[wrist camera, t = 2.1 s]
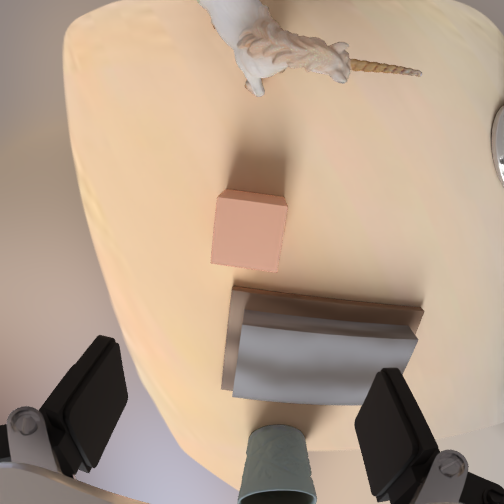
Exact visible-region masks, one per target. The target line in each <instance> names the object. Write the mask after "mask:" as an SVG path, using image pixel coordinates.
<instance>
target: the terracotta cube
mask: <svg viewBox="0 0 504 504" xmlns="http://www.w3.org/2000/svg"><path fill="white" fill-rule="evenodd" d="M287 210H288V205H287V203H286V201H285V198H284V197H281V196H274V195H267V194H260V193H253V192H245V191H238V190H230V189H226V190H224V191H223V192H222V193H221V194H220V195H219V196H218V197H217V203H216V212H215V222H214V232H213V242H212V253H211V264H218V265H225V266H232V267H239V268H246V269H254V270H261V271H268V272H276V273H277V270H278V264H279V258H280V253H281V247H282V241H283V235H284V228H285V222H286V216H287Z"/></svg>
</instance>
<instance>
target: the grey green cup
mask: <svg viewBox="0 0 504 504" xmlns="http://www.w3.org/2000/svg"><path fill="white" fill-rule="evenodd" d="M246 454H247V458H246V462H245V467H244V472H243V476H242V484H241V488H240V492H239V496H238V504H316V502H317V496H316V492H315V488H314V485H313V480H312V478H311V477H310V476H311V468H310V464H309V459H308V452H307V447H306V442H305V437H304V435H303V434H302V432H301V431H300V430H298V429H296V428H294V427H291V426H287V425H269V426H265V427H262V428H259V429H257V430H255V431H254V432H253V433H252V434H251V435H250V437H249V440H248V446H247V451H246Z"/></svg>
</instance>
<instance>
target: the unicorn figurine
mask: <svg viewBox="0 0 504 504" xmlns="http://www.w3.org/2000/svg"><path fill="white" fill-rule="evenodd" d="M197 1H198V3H199V4H200V5H201V6H202V7H203V8H204V9H206V11H207V12H208V14H209V15H210V16H211V18H212V19H211V22H212V25H213V27H214V29H216V30H217V32H218V34H219V35H220V37H221V38H222V39H223V40H224V41H225V42H226V43H227V45H228V46H230V47H231V48H232V49H233V50H234V54H235V59H236V63H237V65H238V67H239V68H240V69H241V70H242V71H243V73H244V75H245V77H246V78H247V81H246V84H245V87H246V88H247V89H248V90H249V91H250V92H251V93H252V94H253V95H256V96H257V97H261V96H263V95H264V93H265V90H264V87H263V85H262V81H261V78H267V77H271V76H273V75H274V74H276V73H282V72H284V71H285V69H286V68H287V67H290V68H301V67H304V68H305V70H306V72H310V71H312V72H316V73H321V74H326V75H329V76H330V77H331V78H332V79H333V80H334V81H336V82H338V83H346V82H347V79H348V78H349V75H350V70H353V71H364V72H371V71H372V72H383V73H393V74H398V73H399V74H403V75H411V76H413V75H415V76H418V77H420V76H422V72H421V71H419V70H413V69H411V68H405V67H402V66H399V67H398V66H396V65H388V64H385V63H384V64H380V63H377V62H369V61H360V60H357V59H350V58H349V53H348V52H346V51H345V49H346V48H347V47H349V44H347V43H345V42H337V43H335V44H332V45H330V46H327V44H326V43H325V41H323V40H322V39H320V38H316V37H310V38H309V37H306V36H298V34H294V33H290V32H289V31H285V30H283V29H282V28H281V27H280V26H279V24H278V23H277V22H276V21H275V20H274V19H273V18H272V17H271V15H270V13H269V8H268V7H267V6H265V5H262V3H261V2H260V1H259V0H197Z"/></svg>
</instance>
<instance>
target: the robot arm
mask: <svg viewBox="0 0 504 504" xmlns="http://www.w3.org/2000/svg"><path fill="white" fill-rule="evenodd" d="M492 153H493V160H494V164H495V168H496V171H497V174H498V177H499V179H500V181H501V183H502V185H503V187H504V105H503V106H502V107H501V108H500V109H499V111H498V112H497V114H496V117H495V120H494V124H493V128H492ZM127 400H128V393H127V387H126V382H125V377H124V371H123V366H122V360H121V353H120V347H119V344H118V343H116V342H115V339H114V338H111V337H106V336H102V335H99V336H97V338H96V339H95V340H94V341H93V343H92V344H91V345H90V346H89V348H88V349H87V350H86V351H85V352H84V354H83V355H82V356H81V358H80V359H79V360H78V361H77V363H76V364H74V365H73V366H72V367H71V368H70V369H69V371H68V372H67V373H66V375H65V376H64V377H63V379H62V380H61V381H60V383H59V384H58V385H57V386H56V388H55V389H54V390H53V392H52V393H51V395H50V396H49V397H48V398H47V400H46V401H45V403H44V404H43V405H42V407H41V408H40V409H39V410H37V409H35V408H33V407H29V406H28V407H27V406H25V407H20V408H17V409H15V410H14V411H12V412H11V413H10V415H9V416H8V419H7V424H5V425H0V504H149V503H145V502H141V501H138V500H134V499H131V498H128V497H124V496H121V495H118V494H115V493H112V492H108V491H105V490H103V489H100V488H97V487H94V486H91V485H89V484H86V483H83V482H81V481H78V480H77V479H76V477H75V474H76V473H77V471H78V469H79V470H81V471H84V472H86V473H89V472H90V470H91V468H92V467H93V468H95V467H96V466H97V465H98V462H99V460H100V458H101V456H102V454H103V451H104V449H105V447H106V445H107V443H108V441H109V439H110V437H111V434H112V432H113V430H114V428H115V426H116V424H117V422H118V420H119V418H120V415H121V414H122V412H123V410H124V407H125V406H126V403H127ZM355 430H356V434H357V437H358V441H359V445H360V449H361V453H362V456H363V460H364V464H365V468H366V472H367V476H368V480H369V484H370V489H371V493H372V495H373V496H376V498H377V502H383V501H388V500H390V503H391V504H504V489H503V488H502V487H501V486H500V485H498V484H496V483H493V482H491V481H488V480H486V479H484V478H481V477H479V476H477V475H474V474H472V473H470V472H468V467H469V466H468V463H467V460H466V459H465V457H464V456H463V455H462V454H461V453H459V452H457V451H454V450H444V451H441V452H440V451H439V449H438V445H437V443H436V441H435V439H434V437H433V435H432V433H431V430H430V428H429V426H428V424H427V422H426V420H425V418H424V416H423V414H422V412H421V410H420V408H419V406H418V404H417V402H416V400H415V398H414V396H413V394H412V392H411V391H410V389H409V387H408V385H407V383H406V381H405V379H404V377H403V375H402V374H401V372H400V370H399V369H398V368H383V369H382V370H381V371H380V372H377V374H376V376H375V378H374V380H373V383H372V385H371V387H370V389H369V392H368V394H367V396H366V398H365V400H364V402H363V405H362V407H361V409H360V411H359V413H358V415H357V417H356V419H355Z"/></svg>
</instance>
